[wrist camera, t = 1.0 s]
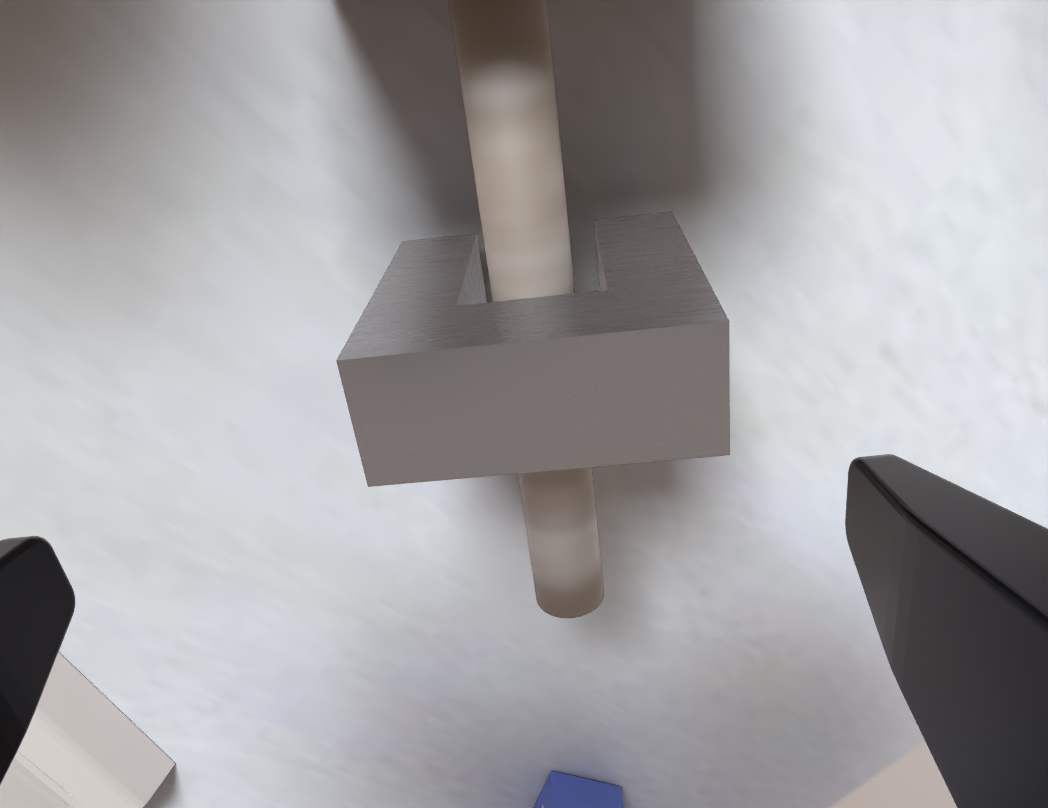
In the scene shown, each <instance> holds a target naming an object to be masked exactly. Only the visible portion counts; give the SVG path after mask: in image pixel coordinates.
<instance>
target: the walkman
mask: <svg viewBox="0 0 1048 808" xmlns="http://www.w3.org/2000/svg"><path fill="white" fill-rule="evenodd" d="M534 808H623V797H622V787H620V786H616V785H611V784H607V783H603V782H598V781H594V780H590V779H585V778H581V777H577V776H572V775H568V774H564V773H559V772H555V771H551V773H550V775H549V777H548V779H547V781H546V783H545V785H544V787H543V789H542V791H541V793H540V795H539V797H538V800H537V802H536V804H535V806H534Z"/></svg>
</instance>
